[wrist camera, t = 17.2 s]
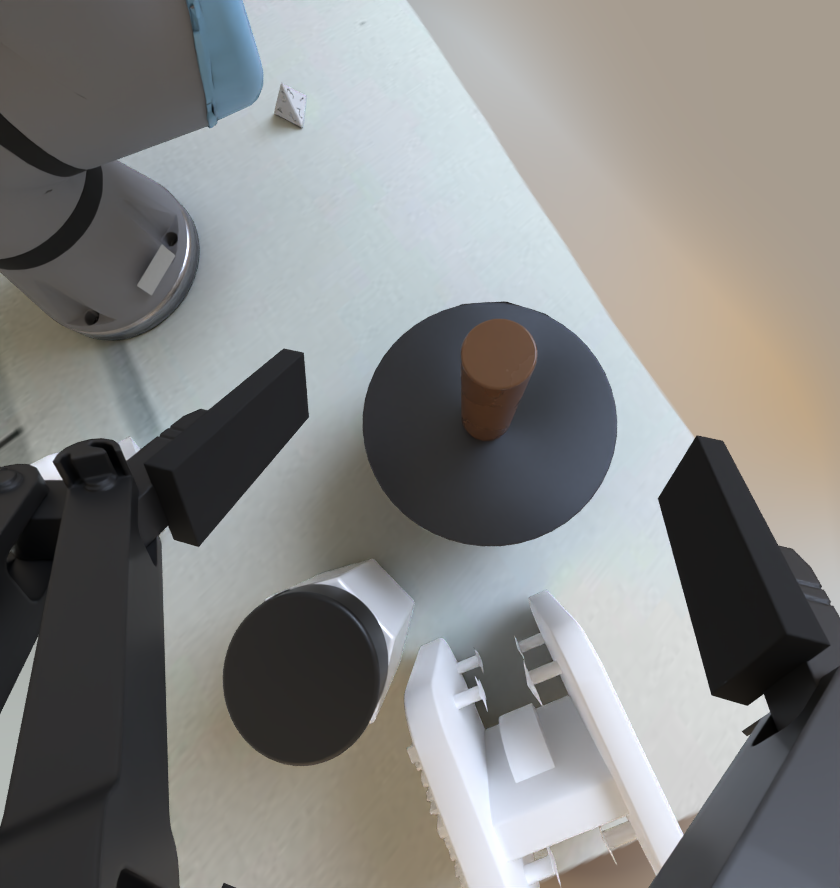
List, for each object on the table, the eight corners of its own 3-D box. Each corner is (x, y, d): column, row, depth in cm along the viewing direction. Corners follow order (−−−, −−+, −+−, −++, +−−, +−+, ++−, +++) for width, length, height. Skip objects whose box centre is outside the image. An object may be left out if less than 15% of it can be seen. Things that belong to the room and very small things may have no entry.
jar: (324, 544, 34) (248, 565, 22) (424, 572, 33) (399, 608, 21) (293, 660, 33) (196, 745, 21) (395, 692, 32) (352, 802, 20)
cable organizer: (643, 793, 29) (756, 979, 18) (500, 851, 30) (520, 1068, 18) (544, 582, 32) (587, 624, 20) (414, 637, 32) (385, 709, 21)
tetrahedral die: (284, 106, 42) (260, 77, 39) (307, 95, 40) (284, 65, 38) (280, 137, 41) (256, 111, 38) (303, 127, 40) (279, 99, 37)
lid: (319, 439, 26) (232, 383, 16) (467, 270, 28) (469, 125, 18) (505, 600, 24) (537, 651, 14) (661, 404, 25) (793, 318, 15)
